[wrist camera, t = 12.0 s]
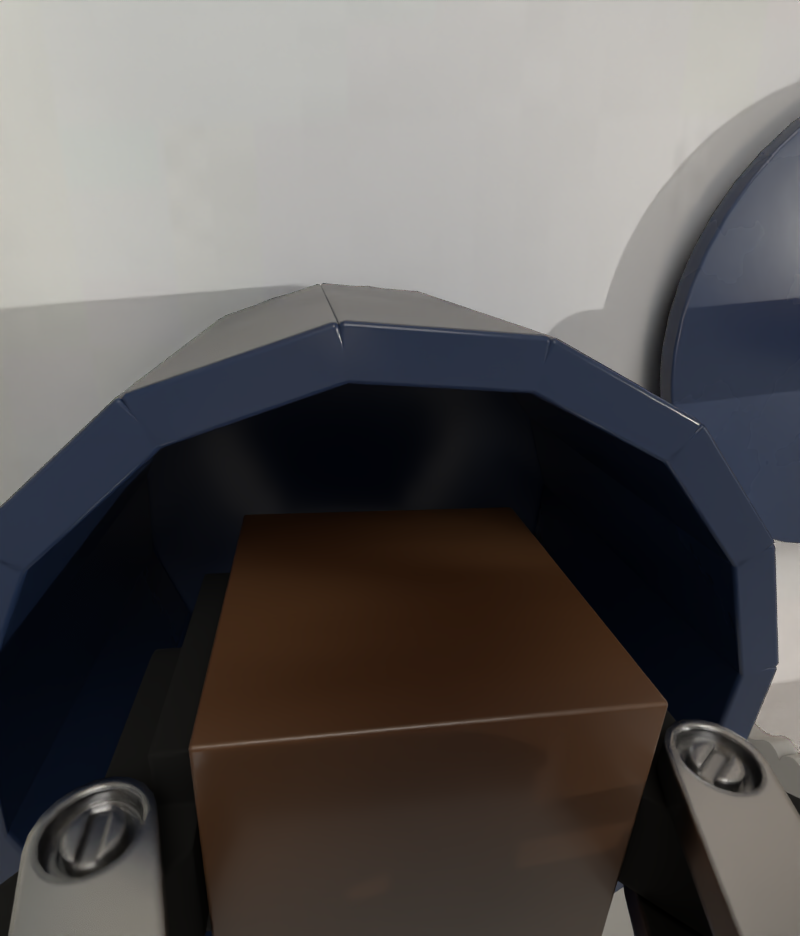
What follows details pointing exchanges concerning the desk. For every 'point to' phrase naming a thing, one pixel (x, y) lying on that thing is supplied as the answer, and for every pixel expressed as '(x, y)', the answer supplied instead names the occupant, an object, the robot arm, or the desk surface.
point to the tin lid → (747, 333)
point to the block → (414, 733)
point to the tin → (363, 508)
